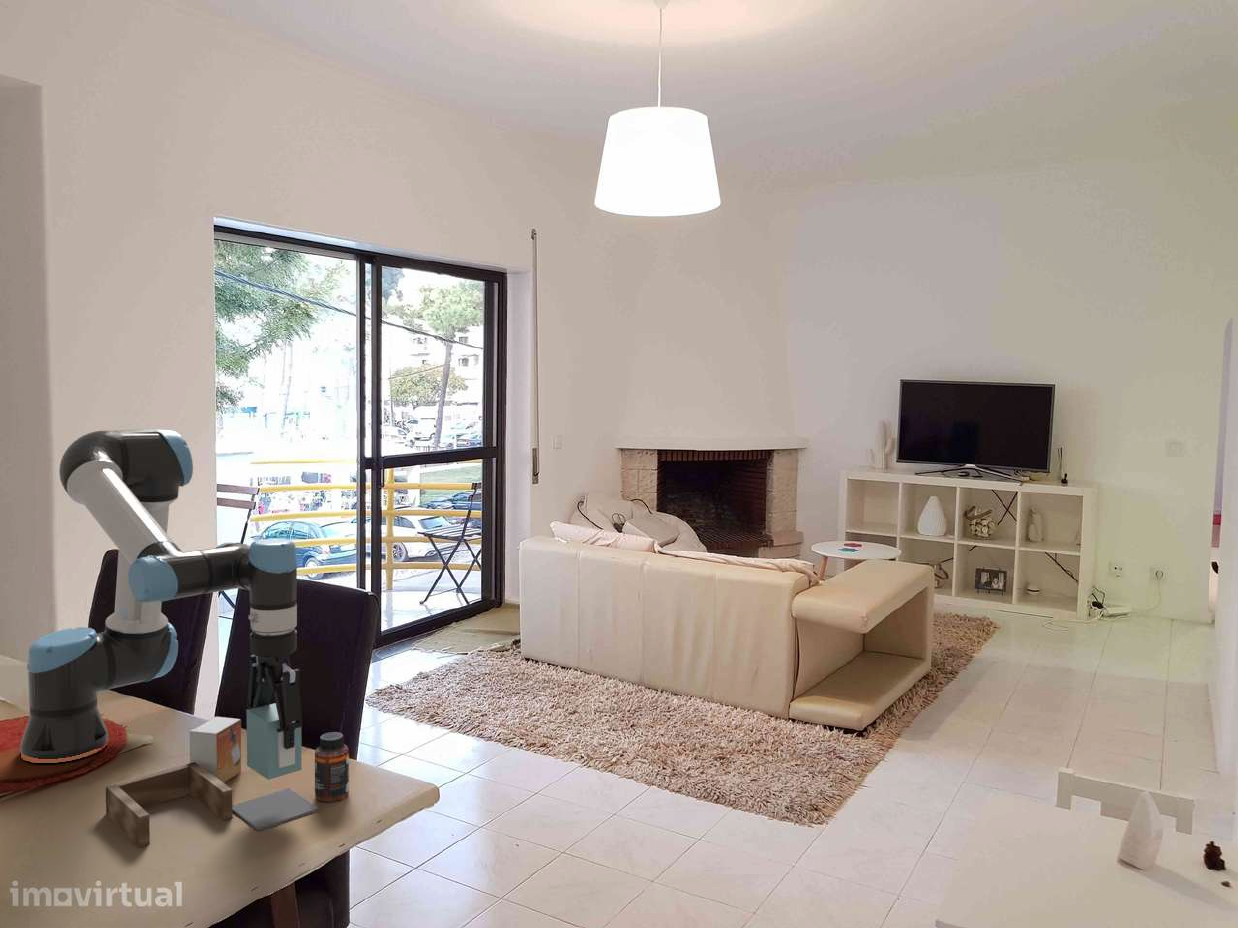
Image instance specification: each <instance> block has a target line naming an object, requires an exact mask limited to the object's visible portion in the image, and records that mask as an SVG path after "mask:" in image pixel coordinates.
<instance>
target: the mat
mask: <svg viewBox="0 0 1238 928" xmlns="http://www.w3.org/2000/svg"><path fill="white" fill-rule="evenodd" d="M319 810H320V808H319V806H316V804H313V802H310V801H309V800H307V799H306V798H305V797H303V796H301V795H300V794H299V793H297V792H295V791H294V790H292V789H291V788H290V787H288V788H284V789H281V790H278V791H275V792H272V793H268V794H265V795H261V796H259V797H254V798H252V799H249V800H245V801H242V802H239V803H236V804H232V813H234V814H236V815H237V817H239V818H241V819H243V820H244V821H245V823H247V824H248V825H250V826H251V827H252V828H254V829H255V830H256V831H262V830H265V829H267V828H271V827H275V826H276V825H280V824H282V823H286V822H289V821H291V820H295V819H298V818H300V817H304V816H306V815H308V814H312V813H315V812H317V811H319ZM314 811H315V812H314Z"/></svg>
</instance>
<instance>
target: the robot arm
mask: <svg viewBox="0 0 1238 928" xmlns="http://www.w3.org/2000/svg"><path fill="white" fill-rule="evenodd" d="M193 464H194V463H193V458H192V454H191V450H190V447H189V446H188V443H187V442H186V439H185V438H184V437H183V436H182V435H181V434H180V433H178V432H177V431H175V430H173V429H172V430H171V429H157V428H151V429H150V428H148V429H147V428H146V429H127V430H95V431H92V432H87V433H86V434H84V435H81V436H80V437H78V438H77V439H76V440H74V441H73V442H72V443H71V444H70V445H69V446H68V447H67V449H66V450H65V452H64V453H63V455H62V458H61V460H60V463H59V470H58V471H59V479H60V480H59V481H60V483H61V485H62V487H63V489H64V491H65V492H66V494H68V496H69V498H71V500H72V501H74V502H75V503H76V504H77V503H78V504H80V505H84V507H85V509H87V510H88V512H89V513H90V514H91V516H92V517H93V518H94V519H95V521H96V522H97V523H98V525H99V526H100V527H101V528H102V529H103V532H104V533H106V535H107V536H108V537H109V539H110V540H111V541H112V543H113V544H114V545H115V546H116V547H117V549H118V553H117V556H118V557H117V569H116V570H117V573H116V586H115V599H114V612H113V613H112V614H110V615H109V616H108V617H106V619H105V624H104V625H105V626H104V631H103V632H98V633H97V632H96V630H95V629H93V628H91V627H85V626H84V627H75V628H65V629H60V630H57V631H54V632H51V633H48V634H46V635H43V636H41V637H39V638H38V639H36V640H35V641H34V642H32V644H31V645H30V647H29V649H28V662H27V664H26V665H27V666H26V669H27V672H28V702H29V718H28V721H27V723H26V726H25V728H24V733H23V735H22V737H21V741H20V745H19V752H20V751H21V753H22V754H24V755H26V756H29V757H33V758H38V759H58V758H66V757H72V756H76V755H80V754H83V753H86V752H89V751H91V750H94V749H98V748H101V747H103V746H104V745H105V744H106V743H107V741H108V742H109V733H108V729H107V727H106V724H105V722H104V719H103V716H102V715H101V712H100V710H99V707H98V693H99V692H102V691H105V690H111V689H115V688H120V687H124V686H129V685H133V684H137V683H142V682H143V683H145V682H150V681H152V680H154V679H156V678H161V677H163V676H166V674H168V673H169V672H170V671H171V670H172V669H173V667H174V665H175V663H176V662H177V657H178V652H179V641H178V639H177V637H178V633H177V631H176V629H175V627H174V626H173V624H171V623H170V622H169V618H168V617H167V616H166V615H165V614H163V612H162V603H163V602H166V601H170V600H176V599H177V600H178V599H182V598H186V597H187V598H188V597H193V596H197V595H202V594H204V595H205V594H211V593H217V592H218V593H219V592H223V591H228V590H236V589H240V590H241V589H242V590H245V591H248V592H249V607H250V611H249V613H250V614H248V616H247V617H248V618H247V619H248V620H250V629H251V633H250V635H249V639H250V641H249V643H250V645H249V647H250V649H249V650H250V654H251V655H249V657H248V659H249V661H248V663H249V677H248V693H247V708H248V710H249V709H253V708H257V707H262V706H266V705H270V704H271V698H272V695H273V696H274V701H275V702H274V703H276V707H277V712H278V717H279V723H280V728H279V729H276V730H277V732H278V767H279V768H282V767H286V766H289V765H292V764H295V728H299V727H301V728H302V727H303V713H302V705H301V702H302V701H301V693H300V674H301V673H300V669H298V668H296V669H292V668H291V663H290V658H289V657H290V655H291V654H293V653H295V651H297V647H298V644H297V643H298V642H297V641H298V640H297V638H298V636H297V629H295V628H296V627H297V624H298V620H297V619H298V616H297V615H298V614H297V613H298V609H297V608H298V605H297V588H298V587H297V584H298V583H297V582H298V581H297V579H298V577H297V576H298V574H297V573H298V572H297V571H298V561H297V553H296V552H297V551H296V549H297V548H296V545H295V543H294V542H293V541H291V540H289V539H285V538H283V539H282V538H264V539H259V540H255V541H252V542H251V544H250V545H248V544H244V543H242V542H223V543H221V544H219V545H218V546H216V547H215V548H209V549H208V548H207V549H199V550H193V551H192V550H190V551H182V550H181V549H180V548H179V547H178V545H177V544H176V543H175V541H174V540H173V539H172V538H171V537H170V536H169V534H168V523H169V515H170V513H169V511H170V505H171V504H173V503H174V502H175V501H176V500H178V498H179V493H180V492H179V490H180V487H181V488H182V487H184V486H186V485H188V484H190V482H191V480H192V478H193V473H194V465H193Z"/></svg>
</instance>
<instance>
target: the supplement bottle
mask: <svg viewBox="0 0 1238 928" xmlns="http://www.w3.org/2000/svg"><path fill="white" fill-rule="evenodd" d="M319 744H320V745H319V746H318V747H316V749H315V751H314V796H315V799H316V800H318V801H320V802H324V803H335V802H337V801H338V800H339V801H341V800H343V799H345V798H346V797H348V795H349V793H350V752H349V751H350V750H349V746H348V745H346V744H345V743H344V735H343V733H342V732H338V731H331V732H325V733H324V734H322V735H321V736H320V739H319ZM334 801H335V802H334Z"/></svg>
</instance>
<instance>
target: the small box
mask: <svg viewBox="0 0 1238 928" xmlns="http://www.w3.org/2000/svg"><path fill="white" fill-rule="evenodd" d="M193 762H196V763H197V764H198V765H200V766H201V767H203V768H204V769H205V770H207V771H208V772H209V773H211V774H212V775H213V776H215V777H216V778H218V779H219V780H220V781H222V782H223V783H224V784H226V782H228V781H229V780H230V779H232V778H234V777H235V776H238V775H239V774H241V772H242V720H241V719H240V718H233V717H225V716H223V717H222V716H214V717H213V718H211V719H210V720H208V721H206V722H204V723H202V724H201V725H199V726H197V727H195V728H194V729H190V731H189V763H193Z"/></svg>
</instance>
